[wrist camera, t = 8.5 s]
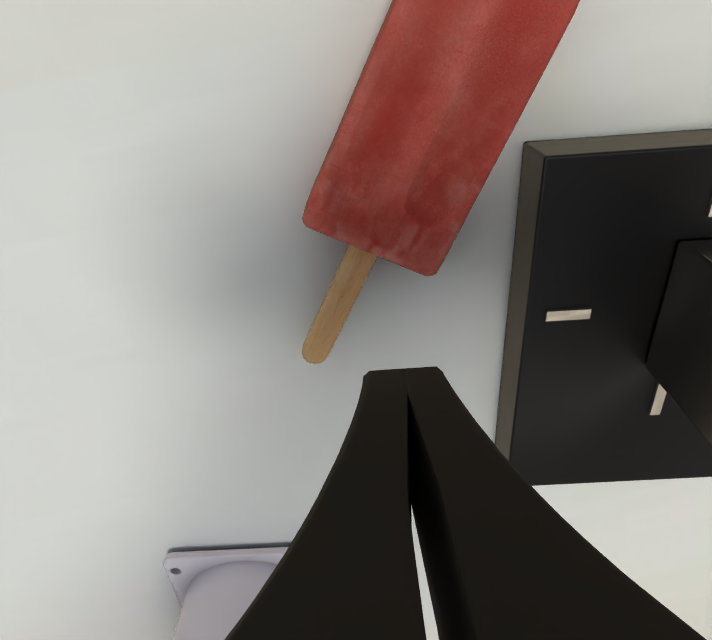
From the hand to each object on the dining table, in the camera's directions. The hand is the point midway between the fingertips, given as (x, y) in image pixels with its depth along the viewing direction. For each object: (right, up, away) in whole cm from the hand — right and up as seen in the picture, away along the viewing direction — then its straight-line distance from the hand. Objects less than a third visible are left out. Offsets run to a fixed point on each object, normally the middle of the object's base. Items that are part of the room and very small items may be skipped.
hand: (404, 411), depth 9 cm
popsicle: (+1, +7, +7) cm, 9 cm away
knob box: (+10, +2, +9) cm, 13 cm away
